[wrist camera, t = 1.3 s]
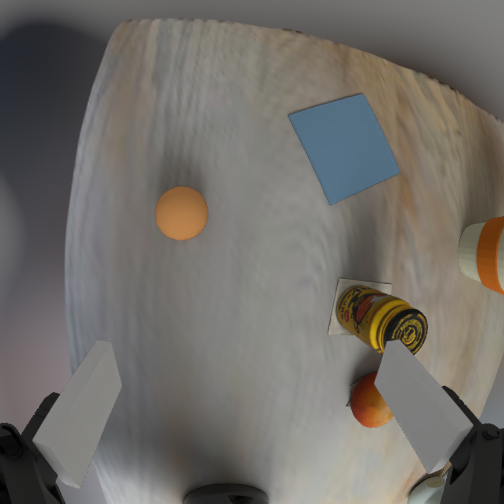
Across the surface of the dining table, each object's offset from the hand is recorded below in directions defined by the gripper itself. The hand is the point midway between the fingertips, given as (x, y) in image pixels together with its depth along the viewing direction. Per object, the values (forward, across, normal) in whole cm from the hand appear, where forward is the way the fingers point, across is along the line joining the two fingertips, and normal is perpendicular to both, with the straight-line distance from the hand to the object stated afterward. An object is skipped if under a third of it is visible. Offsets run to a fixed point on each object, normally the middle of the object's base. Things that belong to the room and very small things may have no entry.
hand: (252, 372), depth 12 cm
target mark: (+25, -13, -13) cm, 31 cm away
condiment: (+21, -16, +7) cm, 28 cm away
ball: (+19, +6, -4) cm, 20 cm away
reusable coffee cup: (+24, -39, 0) cm, 46 cm away
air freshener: (+14, -46, +58) cm, 75 cm away
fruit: (+19, -19, +20) cm, 34 cm away
